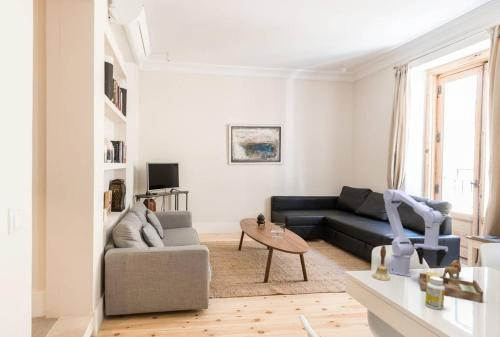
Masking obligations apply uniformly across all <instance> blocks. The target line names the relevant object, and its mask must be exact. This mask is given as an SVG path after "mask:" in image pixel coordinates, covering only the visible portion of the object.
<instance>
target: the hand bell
mask: <svg viewBox="0 0 500 337" xmlns="http://www.w3.org/2000/svg"><path fill="white" fill-rule="evenodd" d="M379 252H380V264H379V265H377V266H376V267H377V268H376V271H375V272H374V273H373V274H372V276H371V277H372V278H373V279H376V280H379V281H384V282H385V281H386V282H387V281H389V282H390V281H391V277H390V276H389V274H388V268H387V266H386V265H385V258H386V255H387V249H386V246H385V245H382V246H381V247H380V251H379Z"/></svg>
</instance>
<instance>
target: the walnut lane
mask: <svg viewBox="0 0 500 337" xmlns="http://www.w3.org/2000/svg"><path fill="white" fill-rule="evenodd" d="M426 274H427V273H421V272H419V278H418V279H419V280H418V281H420V282H419V287H420V291H421V292H425V293H426V289H427V283H426ZM440 278H442V279H443V284H442V285H443V286H444V287H445V292H444V297H445V296H446V297H450V298H455V299H456V298H457V299H461V300H465V301H466V300H467V301H471V302H477V303H480V304H481V303H483V302H484V301H483V300H484V299H483V298H484V291H483V290H482V288H481V287H480V285H479V284H478V283H477V281H476V280H474V279H473V280H472V281H466V280H462V279H459V280H457V279H455V278H449V277H446V278H445V277H442V276H440Z"/></svg>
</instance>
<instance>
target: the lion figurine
mask: <svg viewBox="0 0 500 337" xmlns="http://www.w3.org/2000/svg"><path fill="white" fill-rule="evenodd" d="M450 265H451V266H446V267H445V268H444V271H443V274H442V276H441V277H445V278H447V274H448V278H451V279H454V275H456V276H455V277H456V279H457V280H460V278H459V277H460V273H461V272H462V267H461V266H462V265H461V262H460V261H459V260H456V259H454V260H453V261H452V262H451V263H450Z"/></svg>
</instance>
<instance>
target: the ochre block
mask: <svg viewBox="0 0 500 337" xmlns="http://www.w3.org/2000/svg"><path fill="white" fill-rule="evenodd" d="M425 274H426V283H429V282H430V277H431V276H435V277H439V278H440V277H441V276H440V274H439V273H436V272H435V273H434V272H428V271H426V273H425Z"/></svg>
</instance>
